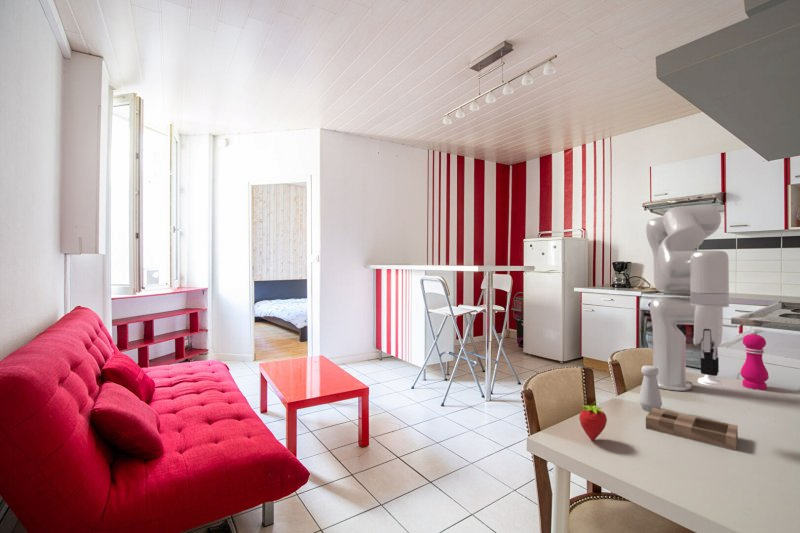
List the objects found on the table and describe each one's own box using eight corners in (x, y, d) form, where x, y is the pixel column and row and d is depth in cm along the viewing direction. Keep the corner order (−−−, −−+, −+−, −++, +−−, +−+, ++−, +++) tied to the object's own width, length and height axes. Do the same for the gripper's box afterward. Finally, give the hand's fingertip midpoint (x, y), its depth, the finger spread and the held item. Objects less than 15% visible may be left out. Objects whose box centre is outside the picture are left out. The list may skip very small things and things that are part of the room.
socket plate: (653, 418, 109) (653, 407, 109) (737, 437, 96) (737, 425, 96) (645, 428, 102) (645, 417, 102) (735, 450, 90) (735, 437, 90)
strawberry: (611, 439, 96) (611, 399, 96) (599, 449, 91) (599, 407, 91) (587, 431, 101) (586, 393, 101) (574, 441, 96) (574, 400, 96)
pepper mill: (754, 383, 138) (753, 328, 138) (774, 390, 131) (774, 331, 131) (735, 384, 138) (734, 328, 138) (754, 390, 130) (754, 332, 130)
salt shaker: (655, 406, 118) (654, 363, 118) (666, 413, 112) (665, 369, 112) (635, 405, 118) (634, 363, 118) (645, 413, 113) (644, 368, 112)
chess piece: (695, 383, 97) (694, 343, 97) (700, 379, 100) (700, 340, 100) (720, 387, 93) (720, 346, 93) (724, 383, 96) (724, 343, 96)
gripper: (694, 297, 105) (695, 364, 105) (685, 301, 93) (686, 377, 93) (731, 298, 99) (731, 369, 100) (726, 303, 88) (726, 383, 88)
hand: (709, 372), depth 96 cm, fingers closed on chess piece
